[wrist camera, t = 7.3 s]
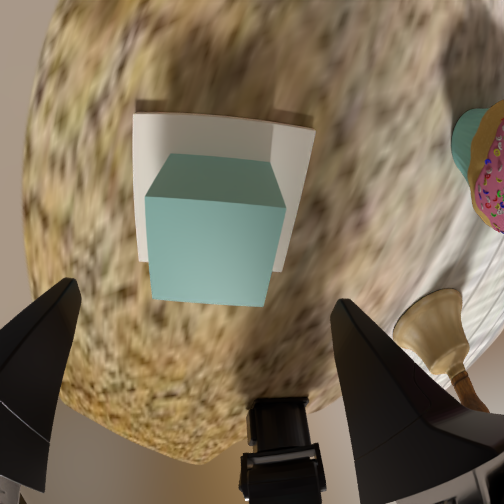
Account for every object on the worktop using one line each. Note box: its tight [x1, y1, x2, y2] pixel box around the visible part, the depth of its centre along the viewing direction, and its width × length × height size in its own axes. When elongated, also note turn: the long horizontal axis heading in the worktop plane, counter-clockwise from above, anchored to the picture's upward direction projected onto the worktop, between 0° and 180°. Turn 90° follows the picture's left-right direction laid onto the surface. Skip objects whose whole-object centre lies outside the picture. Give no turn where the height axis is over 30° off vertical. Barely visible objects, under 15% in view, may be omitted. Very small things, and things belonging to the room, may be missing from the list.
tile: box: [133, 112, 316, 272], centre depth 16 cm, size 9×9×1 cm
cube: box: [145, 153, 287, 307], centre depth 13 cm, size 5×5×5 cm
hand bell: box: [393, 289, 490, 413], centre depth 18 cm, size 8×8×16 cm
